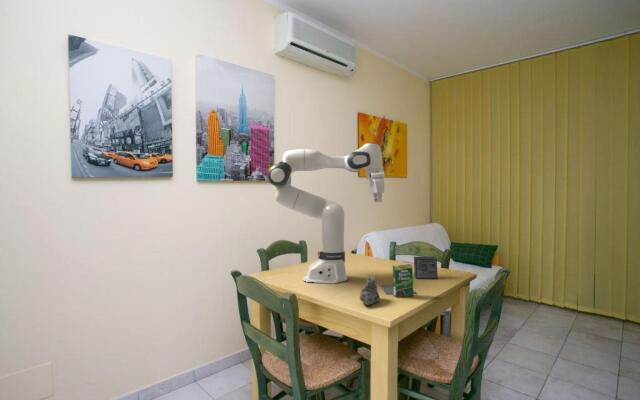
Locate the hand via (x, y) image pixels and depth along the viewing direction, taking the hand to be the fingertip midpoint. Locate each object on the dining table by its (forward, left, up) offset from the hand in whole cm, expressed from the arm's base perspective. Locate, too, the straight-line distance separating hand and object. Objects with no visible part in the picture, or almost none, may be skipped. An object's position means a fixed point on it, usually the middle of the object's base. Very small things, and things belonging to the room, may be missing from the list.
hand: (378, 202), depth 173 cm
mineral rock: (-11, -37, -39) cm, 55 cm away
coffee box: (+5, -30, -39) cm, 49 cm away
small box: (+24, 0, -39) cm, 46 cm away
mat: (+5, -21, -39) cm, 44 cm away
